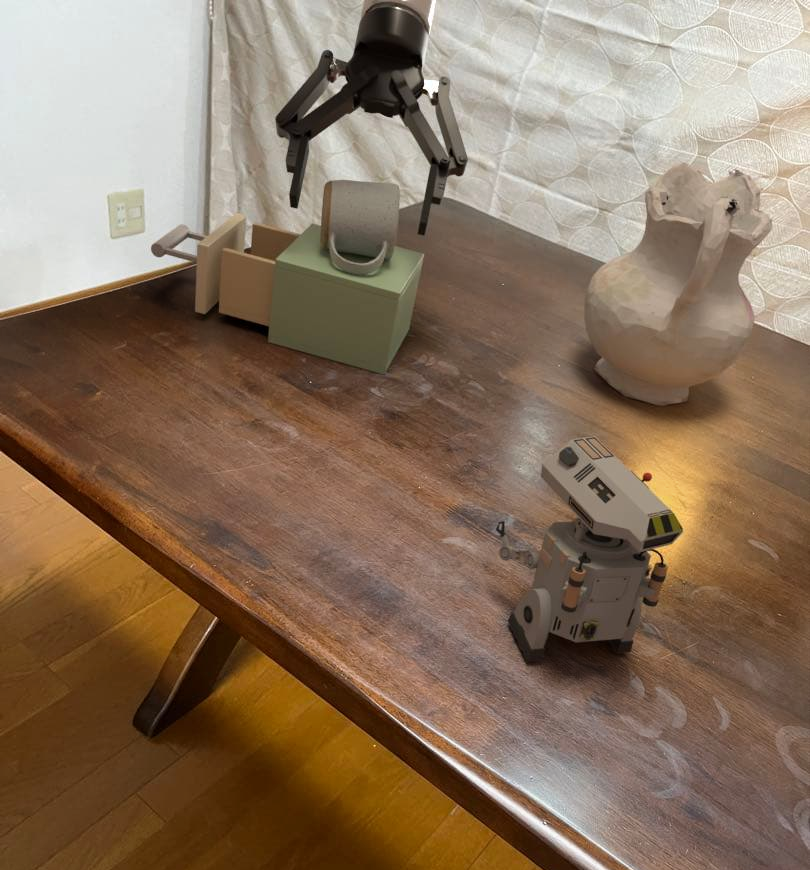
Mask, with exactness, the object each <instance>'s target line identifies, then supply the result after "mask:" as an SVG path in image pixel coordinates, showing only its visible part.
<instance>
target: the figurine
mask: <svg viewBox="0 0 810 870" xmlns="http://www.w3.org/2000/svg"><path fill="white" fill-rule="evenodd" d="M540 471H541V472H540V478H541V479H542V480H543V481H544V482H545V483H546V484H547V485H548V486H549V487H550V488H551V490H553V492H554V493H555V494H556V495H557V496H558V497H559V498H560V499H561V500H562V502H564V503H565V504H566V506H567V507H568V508H569V509H570V510H571V511H572V513H574V514H575V515H576V516H577V517H576V518H575V519H574V521H554V522H553V523H552V524H551V526H549V527H548V528H547V530H545V532H544V536H543V540H542V544H541V548H540V550H537V551H530V549H529V548H524V547H523V548H517V547H515V545H514V544H510V542H509V538H508V535H507V532H506V531H505V530H506V529H505V527H506V526H505V522H506V521H505V520H503V521H502V520H501V521H500V522H497V526H496V528H495V531H496V532H497V533H498V534H499V535H500V537H501V538H500V540H501V541H500V542H501V545H502V546H501V547H500V548H499V550H498V555H499V558H500V559H501V560H502V561H509V560H512V561H514V562H516V561H517V565H522V566H527V568H528V569H530V570H534V569H535V572H534V577H533V581H532V585H531V588H529V589H528V590H526V591H524V593H523V595H522V596H521V597H520V599H519V601H518V602H517V604H516V608H515V609H514V611H512V612H511V613H510V616H509V617H508V619H507V622H508V626H509V630H510V631H511V632H513V633H512V636H513V638H514V639H516V641H517V643H518V647H519V648H518V649H519V651H521V652H522V657H523V659H524V660H526V661H527V662H538V661H543V658H544V655H545V651H546V648H545V644H546V642H547V639H548V636H549V633H551V634H554V635H556V636H559V637H562V638H564V639H566V640H569V641H571V642H574V643H584V642H597V641H607V643H608V644H610V645H611V650H612V651H613V652H615V653H616V654H623V653H625V654H626V653H631V651H632V648H633V645H634V640H633V639H634V636H635V634H636V632H637V629H638V627H639V624H640V621H641V617H642V610H643V604H644V605H645V606H648V607H652V608H653V607H656V606H658V603H659V597H660V594H661V591H662V587H663V585H664V584H663V583H664V582H665V580H666V577H667V572H668V570H669V566H668V565H667V564H666V563H664V558H663V555H662V553H661V552H660V551H659V550H657V549H658V548H662V547H666V546H670V545H673V543H675V541H676V540H678V538H679V537H680V536H681V535H682V534H683V533H684V528H683V527H682V525H681V523H680V521H679V519H678V517H677V516H676V514H675V512H673V510H671V508H669V507H668V506H667V504H666V503H664V502H663V501H662V499H660V498H659V497H658V496H657V495H656V494H655V493H654V492H653V491H652V489H650V488H649V486H648V485H647V484H646V483H648V482H650V481H652V479H653V475H652V473H650V472H644V473H643V475H642V479H641V478H640V477H639V476H638V475H637V474H636V473H635V472H634V471H633V470H631V469H629V468H628V466H626V465H625V464H624V463H623V462H622V461H621V460H620V459H619V458H618V457H617V456H616V455H615V454H614V453H613V452H612V451H611V450H610V449H609V448H607V446H605V444H603V443H602V442H601V440H600V439H599V438H598V437H596V436H595V435H594V436H587V437H586V436H585V437H579V438H573V439H570V440H569V441H568V442H567V443H565V444H564V445H563V446H562V447H560V448H559V449H558V450H557V451H556V452H554V454H552V455H551V456H550V457H548V458H547V459H545V461H544V462H542V464H541V470H540ZM645 482H646V483H645ZM500 524H501V528H500ZM649 552H654V553H656V554H657V555H658V556H659V558H660V562H656V563H654V565H653V567H652V565H650V561H651V558H652V555H651V554H650V553H649ZM652 568H653V569H652ZM650 572H651V574H650Z"/></svg>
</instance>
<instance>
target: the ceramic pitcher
mask: <svg viewBox="0 0 810 870" xmlns="http://www.w3.org/2000/svg"><path fill="white" fill-rule="evenodd" d="M728 174H729V175H728V176H726V177H724V178H721V179H719V180H716V181H714V182H713V181H709V180H707V178H706V177H705V176H704V175H703V173H702V172H701V170H700V169H698V168H696V167H692V166H691V165H690V164H689V163H688V162H685V161H680V162H679V163H676V164H675V165H673V166H672V167H670V168H668V169H667V170H666V171H665V172H664V173H663V174H662V175H661V176H660V177H659V178H658V180H657V181H656V183H655V186H652V185H650V187H648V189H646V191H645V192H644V193H645V194H644V203H645V211H646V221H645V227H644V233H643V235H642V238H641V240H640V242H639V244H637V246H635V248H634V249H633V250H631V251H630V252H627V253H625V254H621V255H620V256H618V257H615V258H613V259H611V260H608V261H607V262H606V263H604V264H603V265H602V266H600V267H599V268H598V270H597V271H596V272H595V273H594V274H593V276H592V277H591V279H590V282H589V284H588V287H587V290H586V293H585V297H584V303H583V304H584V307H583V308H584V310H583V311H584V312H583V313H584V315H583V316H584V317H583V319H584V325H585V330H586V334H587V336H588V338H589V341H590V342H591V344H592V346H593V348H594V349H595V351H596V354H597V355H598V356H599V357H601V358H600V359H598V361H596V364H595V365H594V367H593V371H595V372H596V373H597V374H598V375H599V376H600V377H601V378H602V379H603V380H604V381H605V382H606V383H607V384H608V385H609V386H611V387H612V388H613V389H614V390H616V391H617V392H619V393H620V394H622V395H623V396H624V397H626V398H630V399H635V400H638V401H642V402H646V403H648V404H652V405H655V406H659V407H660V406H663V407H664V406H667V405H668V406H669V405H674V404H679V403H680V404H681V403H686V402H688V398H689V396H690V395H689V394H690V389H689V388H690V387H691V386H692V387H693V386H696V385H697V386H698V385H700V384H703V383H706V382H708V381H711V380H712V379H714V378H716V377H718V376H720V375H722V374H723V373H724V372H725V371H726V370H728V369H729V368H730V367H731V366H732V365H733V364H735V363H736V361H738V359H739V358H740V357H741V355H743V353H744V351H745V350H746V347H747V345H748V343H749V340H750V338H751V336H752V333H753V330H754V326H755V319H756V316H755V313H754V310H753V306H752V303H751V302H750V300H749V298H748V297H747V295H746V294H745V292H744V289H743V288H742V286H741V285H740V280H739V279H740V278H739V275H740V271H741V269H742V268H743V266H744V263H745V262H746V259H747V258H748V257H749V256H750V254H751V253H752V252H753V251H754V250H755V249H756V248H757V247H758V246H759V245H760V244H761V243H762V242H763V241H764V240H765V239H766V238H767V236H768V235H769V234H770V232H771V231H772V229H773V218H771V217H770V215H769V214H768V213H767V212H765V211H763V210H760V206H761V192H762V191H764V188H763V187H762V188H758V184H757V183H756V182H755V181H754V179H752V176H751V175H750V174H746V173H743V172H742V171H741V170H739V169H735V168H734V172H733V171H731V170H728Z"/></svg>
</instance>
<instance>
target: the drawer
mask: <svg viewBox="0 0 810 870" xmlns="http://www.w3.org/2000/svg"><path fill="white" fill-rule="evenodd" d="M246 226H247V215H246V214H242V213H239V212H237V213H235V214H234V215H232V216H231V217H230V218H228V219H227V220H226V221H225V222H223V223H222V224H221V225H219V227H217V228H215V230H213V231H212V232H211V233H209V234H208V235H205V234H202V233H198V232H194V231H191V230H190V228H189V226H188V225H186V224H183V223H181V224H178V225H177V226H176V227H174V228H173V229H172V230H170V231H169V232H168V233H166V234H165V235H163V236H162V237H160V238H159V239H158V240H156V241H155V242H154V243H152V244H151V245H150V251H151V254H152V255H153V256H154V257H156V258H162V257H164V256H165V255H167V256H171V257H173V258H177V259H182V260H185V261H189V262H192V263H196V272H195V274H196V275H195V278H196V279H195V302H194V312H195V313H199V314H202V315H206V314H207V313H208V312H209V311H211V309H212V308H213V307H214V306H215V305H216V304H218V313H219V314H222V315H226V316H229V317H234V318H237V319H241V320H244V321H247V322H251V323H256V324H259V325H262V326H265V327H269V324H270V313H271V302H272V291H273V281H274V270H275V260H276V258H277V257H278V256H279V255H280V254H281V253H282V252H283V251H285V250H286V249H287V248H288V247H289V246H290V245H291V244H292V243H293V242H294V241H295V240H296V239H297V238H298V237H299V236H300V235H301V234H302V233H297V232H293V231H290V230H286V229H282V228H279V227H274V226H271V225H269V224H268V225H267V224H264V223H260V222H256V221H254V222H253V223H252V228H251V240H250V253H247V252H245V244H246V243H245V241H246ZM188 238H189V239H193V240H196V241H199V242H198V243H197V245H196V255H195V254H192V253H188V252H186V251H185V252H184V251H181V250H178V249H175V248H176V247H177V246H178V245H180V244H181V243H182V242H184V241H186V240H187V239H188Z"/></svg>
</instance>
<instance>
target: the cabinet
mask: <svg viewBox="0 0 810 870" xmlns="http://www.w3.org/2000/svg"><path fill="white" fill-rule="evenodd" d="M320 233H321V224H320V225H319V224H315V223H310V225H309V226H307V227H306V229H305V230H303V232H302V233H300V234H301V235H300V236H299V237H298V238H297V239H296V240H295V241H294V242H293V243H292V244H291V245H290V246H289V247H288V248H287V249H286V250H285V251H283V252H282V253H281V254H280V255H279V256H278V257H277V258H276V260H275V270H274V281H273V291H272V302H271V313H270V324H269V326H268V335H267V343H270V344H273V345H275V346H276V345H277V346H281V347H284V348H288V349H291V350H295V351H298V352H301V353H305V354H308V355H313V356H316V357H319V358H323V359H327V360H330V361H334V362H337V363H342V364H344V365H348V366H351V367H356V368H358V369H359V368H360V369H363V370H366V371H370V372H373V373H377V374H381V375H385V374H386V373H387V371H388V369H389V367H390V365H391V364H392V362H393V360H394V358H395V356H396V354H397V353H398V351H399V349H400V347H401V345H402V343H403V342H404V339H405V338H406V336H407V334H408V332H409V331H410V327H411V322H412V318H413V317H412V316H413V312H414V307H415V302H416V298H417V292H418V287H419V283H420V278H421V272H422V267H423V263H424V258H425V253H422V252H419V251H415V250H412V249H407V248H404V247H401V246H397V245H395V247H394V252H393V256H392V258H391V259H389V260H387V259H384V260H383V262H382V264H381V266H380V267H379V268H378V269H377V270H376V271H374V272H372V273H369V274H366V275H356V274H351V273H348V272H345V271H343V270H342V269H340V268H339V267H337V266H336V265H335V264H334V262H333V260H332V258H331V255H330V251H329V249H327V248H325V247H324V246H323V245H322V244H321V242H320ZM337 253H338V254H339V255H340V256H341V257H342V258H344V259H345V260H347V261H350V262H354V263H359V264H364V263H367V262H370V261H372V260H374V259H375V258H374V257H368V256H363V255H358V254H352V253H344V252H338V251H337Z"/></svg>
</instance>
